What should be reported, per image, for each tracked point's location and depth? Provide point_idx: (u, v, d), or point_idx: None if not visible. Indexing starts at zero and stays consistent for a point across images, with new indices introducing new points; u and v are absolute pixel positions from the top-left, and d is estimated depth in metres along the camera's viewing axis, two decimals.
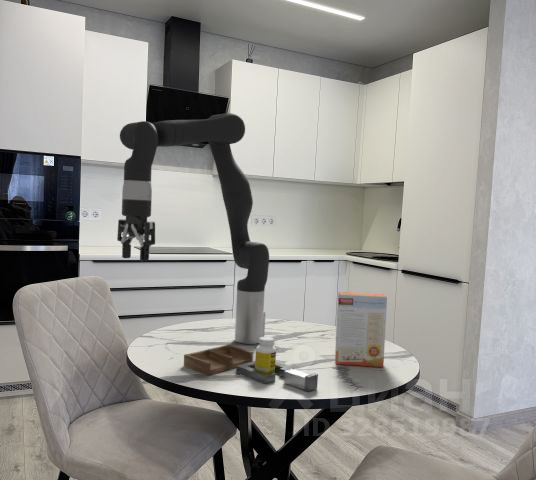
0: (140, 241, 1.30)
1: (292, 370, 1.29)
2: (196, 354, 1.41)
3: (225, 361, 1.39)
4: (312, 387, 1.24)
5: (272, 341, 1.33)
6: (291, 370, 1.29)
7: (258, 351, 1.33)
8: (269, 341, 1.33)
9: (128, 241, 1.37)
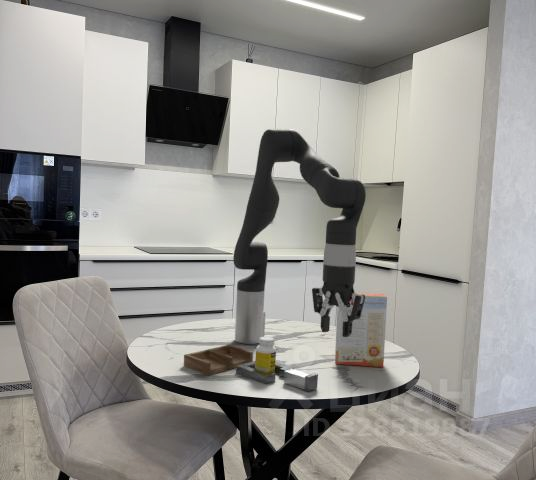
0: (344, 314, 1.16)
1: (292, 370, 1.29)
2: (196, 354, 1.41)
3: (225, 361, 1.39)
4: (312, 387, 1.24)
5: (272, 341, 1.33)
6: (291, 370, 1.29)
7: (258, 351, 1.33)
8: (269, 341, 1.33)
9: (327, 312, 1.21)
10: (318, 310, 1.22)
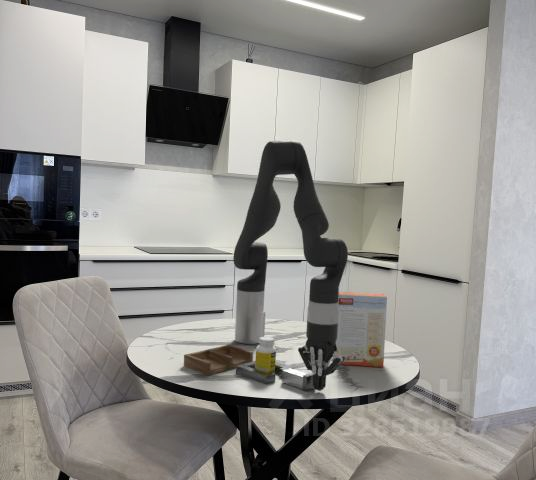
0: (319, 369, 1.22)
1: (290, 369, 1.30)
2: (196, 354, 1.41)
3: (225, 361, 1.39)
4: (310, 387, 1.25)
5: (272, 341, 1.33)
6: (289, 369, 1.30)
7: (258, 351, 1.33)
8: (269, 341, 1.33)
9: None
10: (310, 368, 1.24)
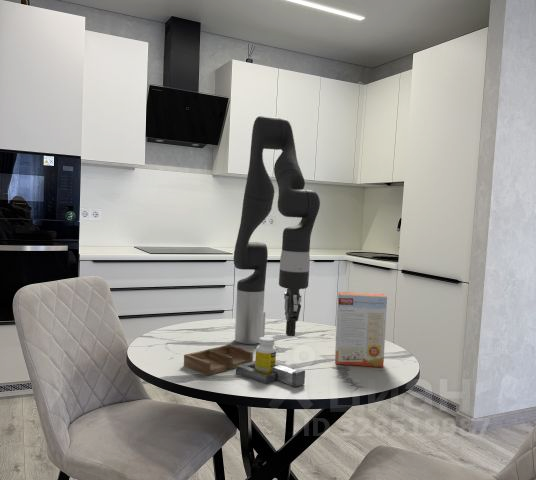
0: (287, 315, 1.27)
1: (280, 366, 1.32)
2: (196, 354, 1.41)
3: (225, 361, 1.39)
4: (299, 383, 1.27)
5: (272, 341, 1.33)
6: (279, 366, 1.32)
7: (258, 351, 1.33)
8: (269, 341, 1.33)
9: None
10: (286, 314, 1.30)
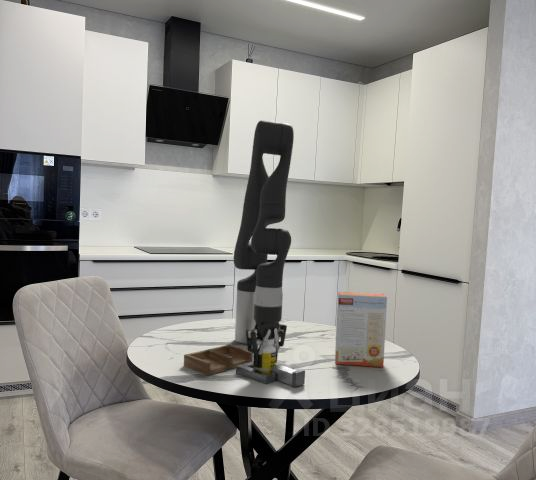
0: None
1: (280, 366, 1.32)
2: (196, 354, 1.41)
3: (225, 361, 1.39)
4: (299, 383, 1.27)
5: (272, 341, 1.33)
6: (279, 366, 1.32)
7: None
8: (269, 341, 1.33)
9: (274, 346, 1.37)
10: None
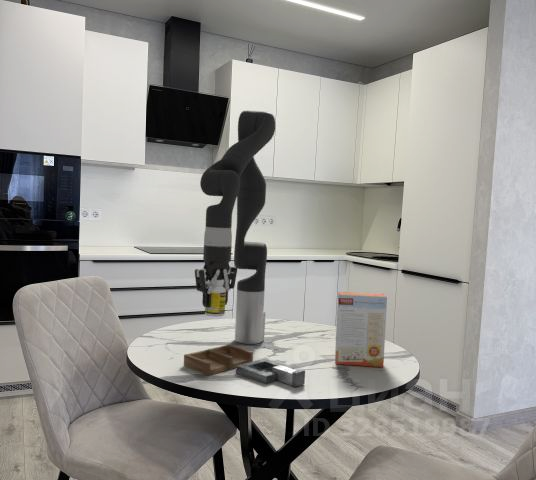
0: None
1: (280, 366, 1.32)
2: (196, 354, 1.41)
3: (225, 361, 1.39)
4: (299, 383, 1.27)
5: (221, 281, 1.36)
6: (279, 366, 1.32)
7: None
8: (218, 281, 1.35)
9: None
10: None
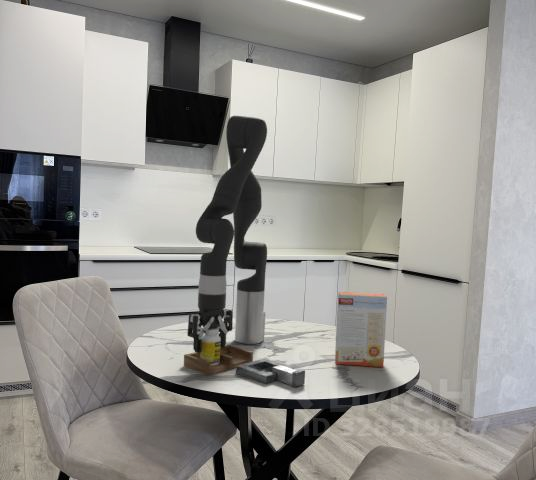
0: None
1: (280, 366, 1.32)
2: (196, 354, 1.41)
3: (225, 361, 1.39)
4: (299, 383, 1.27)
5: (216, 331, 1.37)
6: (279, 366, 1.32)
7: (202, 341, 1.36)
8: (213, 331, 1.36)
9: (222, 331, 1.41)
10: None
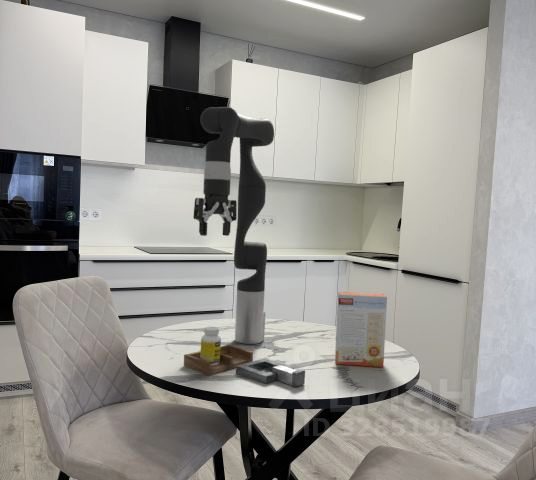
0: None
1: (280, 366, 1.32)
2: (196, 354, 1.41)
3: (225, 361, 1.39)
4: (299, 383, 1.27)
5: (216, 331, 1.37)
6: (279, 366, 1.32)
7: (202, 341, 1.36)
8: (213, 331, 1.36)
9: (227, 220, 1.46)
10: None
